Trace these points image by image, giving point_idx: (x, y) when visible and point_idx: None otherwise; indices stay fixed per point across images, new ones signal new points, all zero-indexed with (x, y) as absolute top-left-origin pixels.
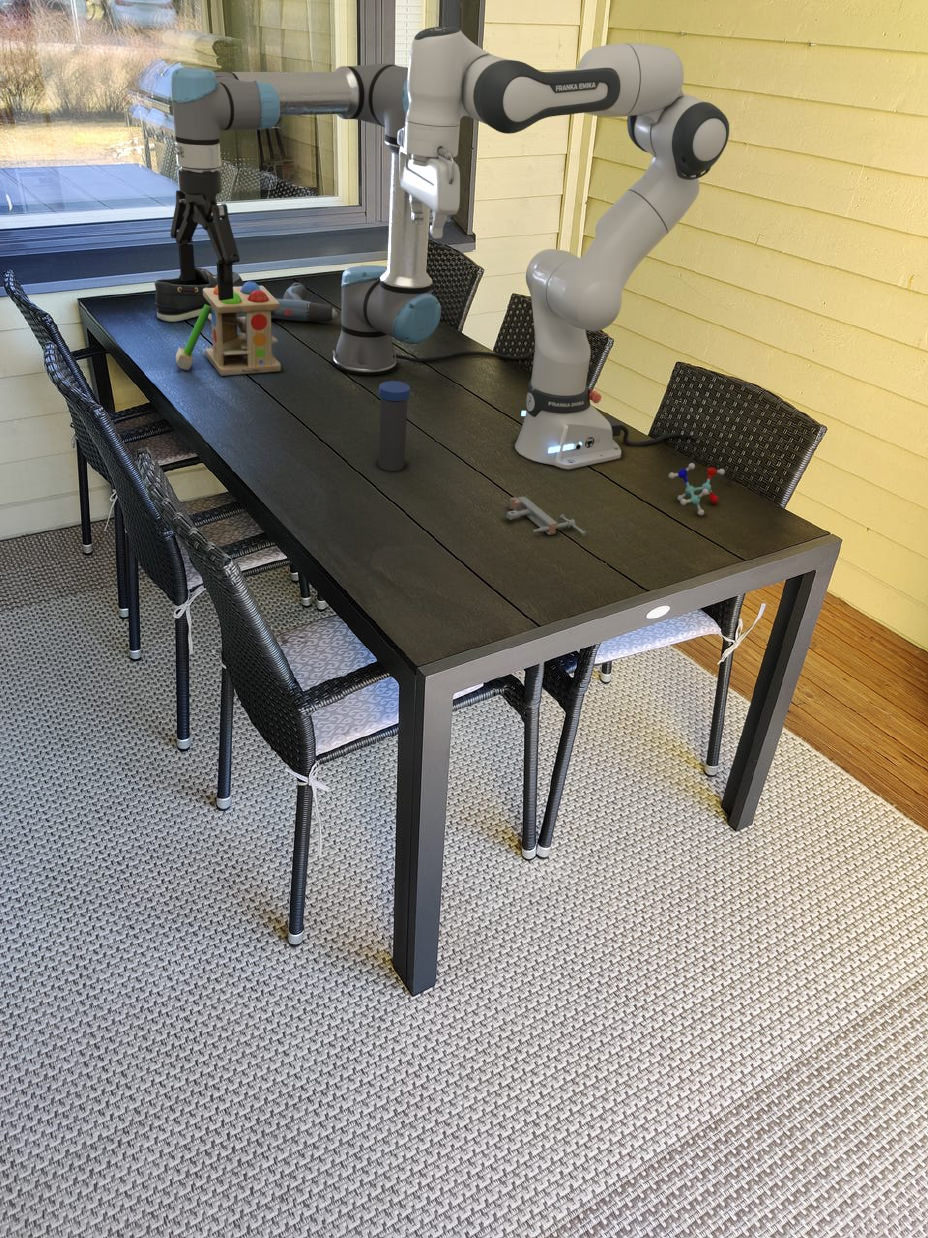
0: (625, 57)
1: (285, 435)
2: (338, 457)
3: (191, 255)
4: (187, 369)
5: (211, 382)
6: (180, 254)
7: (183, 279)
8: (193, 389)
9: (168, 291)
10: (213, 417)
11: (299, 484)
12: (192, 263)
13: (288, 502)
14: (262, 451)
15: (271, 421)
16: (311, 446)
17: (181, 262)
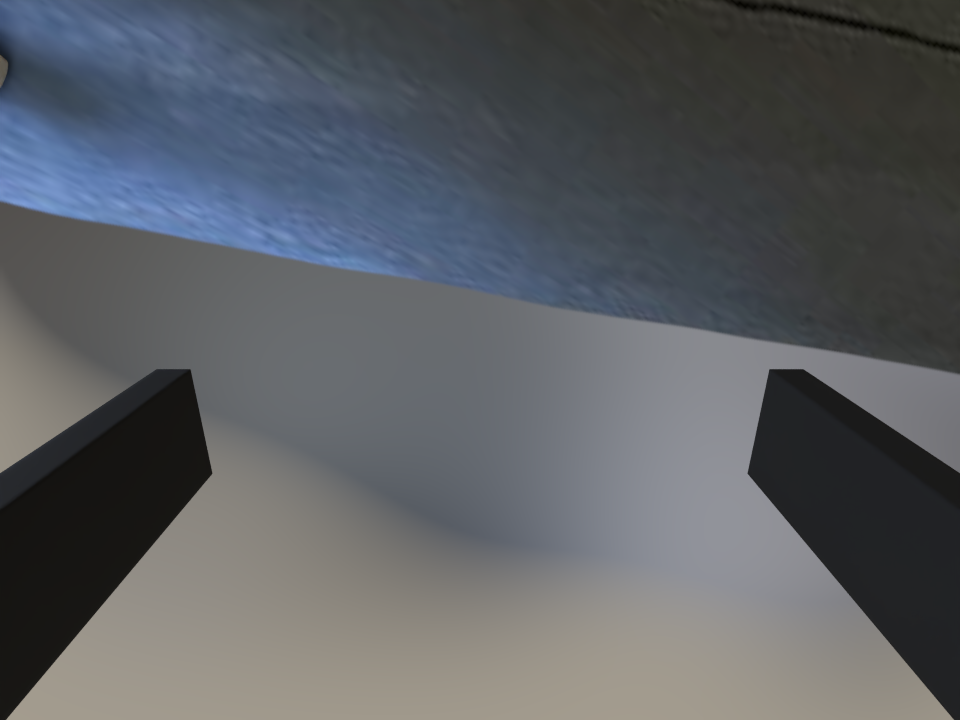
0: None
1: (643, 89)
2: (871, 39)
3: (43, 522)
4: (7, 68)
5: (140, 49)
6: (54, 654)
7: (206, 476)
8: (182, 142)
9: None
10: (414, 207)
11: (898, 247)
12: (108, 461)
13: (940, 322)
14: (686, 216)
15: (531, 62)
16: (756, 65)
17: (118, 581)
